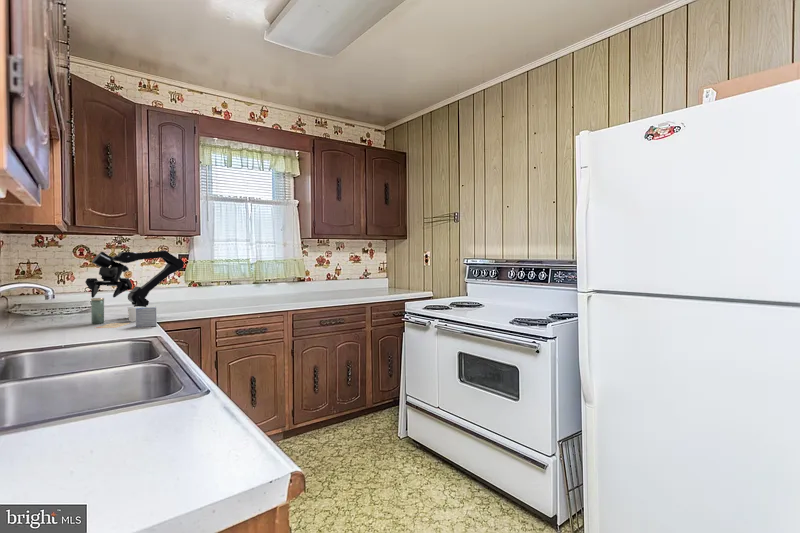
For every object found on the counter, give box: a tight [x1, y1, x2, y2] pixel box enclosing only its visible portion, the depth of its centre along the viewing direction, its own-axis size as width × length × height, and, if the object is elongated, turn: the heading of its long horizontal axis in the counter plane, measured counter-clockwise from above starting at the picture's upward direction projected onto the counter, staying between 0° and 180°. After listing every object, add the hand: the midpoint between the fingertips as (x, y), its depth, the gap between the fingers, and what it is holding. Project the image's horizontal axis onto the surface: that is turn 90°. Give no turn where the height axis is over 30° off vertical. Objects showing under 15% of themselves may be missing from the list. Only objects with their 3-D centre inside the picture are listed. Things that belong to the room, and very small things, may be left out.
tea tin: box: [90, 297, 105, 325], centre depth 197 cm, size 5×5×12 cm
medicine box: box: [135, 306, 158, 328], centre depth 191 cm, size 8×4×9 cm, turn 118°
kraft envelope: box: [95, 322, 131, 329], centre depth 192 cm, size 14×9×1 cm, turn 8°
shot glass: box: [127, 306, 142, 322], centre depth 207 cm, size 7×7×7 cm
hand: (102, 297), depth 201 cm, fingers open, 9 cm apart
